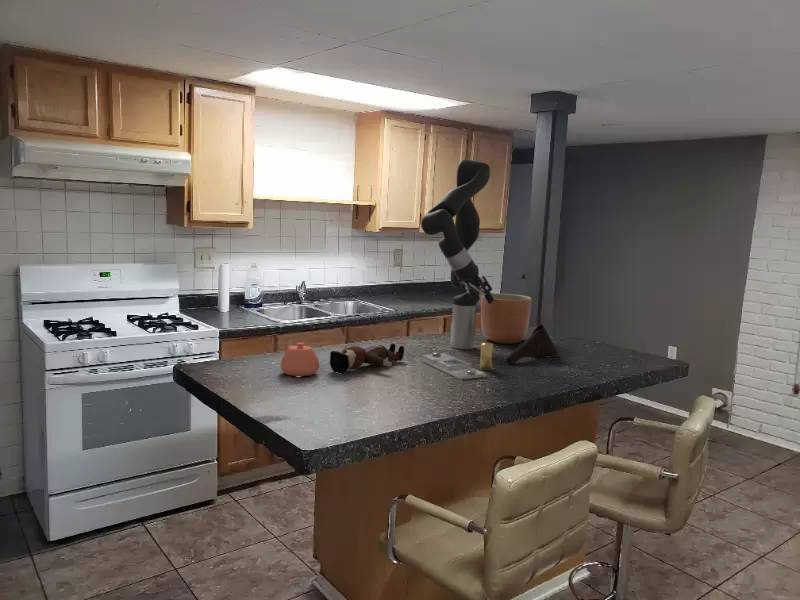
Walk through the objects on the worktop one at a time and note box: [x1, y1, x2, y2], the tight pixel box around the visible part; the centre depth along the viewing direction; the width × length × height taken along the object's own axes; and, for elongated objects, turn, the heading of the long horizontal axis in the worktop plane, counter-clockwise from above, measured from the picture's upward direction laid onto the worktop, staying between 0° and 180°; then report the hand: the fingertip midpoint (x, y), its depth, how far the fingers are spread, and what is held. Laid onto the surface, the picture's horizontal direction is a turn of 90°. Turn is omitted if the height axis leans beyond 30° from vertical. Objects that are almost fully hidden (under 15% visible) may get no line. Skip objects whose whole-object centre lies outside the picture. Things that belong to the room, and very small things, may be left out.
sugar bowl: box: [280, 342, 320, 377], centre depth 203 cm, size 12×14×10 cm
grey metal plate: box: [421, 351, 487, 381], centre depth 217 cm, size 26×10×3 cm, turn 28°
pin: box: [479, 342, 494, 371], centre depth 218 cm, size 4×4×9 cm
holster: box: [506, 324, 558, 365], centre depth 236 cm, size 5×16×25 cm
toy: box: [329, 343, 405, 375], centre depth 215 cm, size 24×10×30 cm
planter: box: [480, 292, 532, 345], centre depth 267 cm, size 21×21×19 cm
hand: (484, 301), depth 217 cm, fingers open, 8 cm apart
